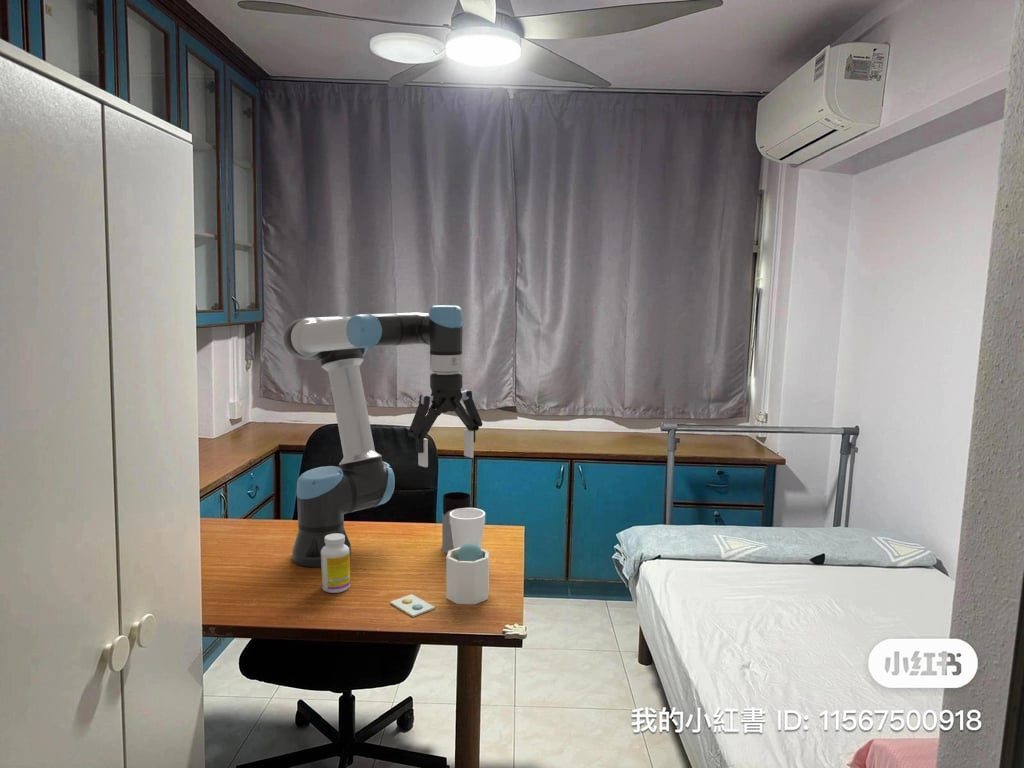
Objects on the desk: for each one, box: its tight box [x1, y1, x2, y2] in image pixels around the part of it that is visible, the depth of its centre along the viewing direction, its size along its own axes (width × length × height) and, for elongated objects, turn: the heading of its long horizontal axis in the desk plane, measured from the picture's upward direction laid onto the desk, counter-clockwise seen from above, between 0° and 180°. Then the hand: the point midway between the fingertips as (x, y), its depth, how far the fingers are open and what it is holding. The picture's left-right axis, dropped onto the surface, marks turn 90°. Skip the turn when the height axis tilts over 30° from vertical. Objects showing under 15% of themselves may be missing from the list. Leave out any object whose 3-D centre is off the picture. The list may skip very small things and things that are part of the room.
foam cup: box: [449, 507, 486, 549], centre depth 186 cm, size 10×9×13 cm
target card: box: [389, 593, 436, 618], centre depth 161 cm, size 9×6×1 cm, turn 43°
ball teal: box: [457, 543, 483, 561], centre depth 166 cm, size 6×6×6 cm
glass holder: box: [440, 491, 471, 554], centre depth 197 cm, size 9×14×15 cm, turn 7°
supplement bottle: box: [320, 533, 351, 594], centre depth 169 cm, size 7×7×13 cm
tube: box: [445, 547, 490, 605], centre depth 166 cm, size 10×10×10 cm
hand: (446, 461), depth 168 cm, fingers open, 13 cm apart
